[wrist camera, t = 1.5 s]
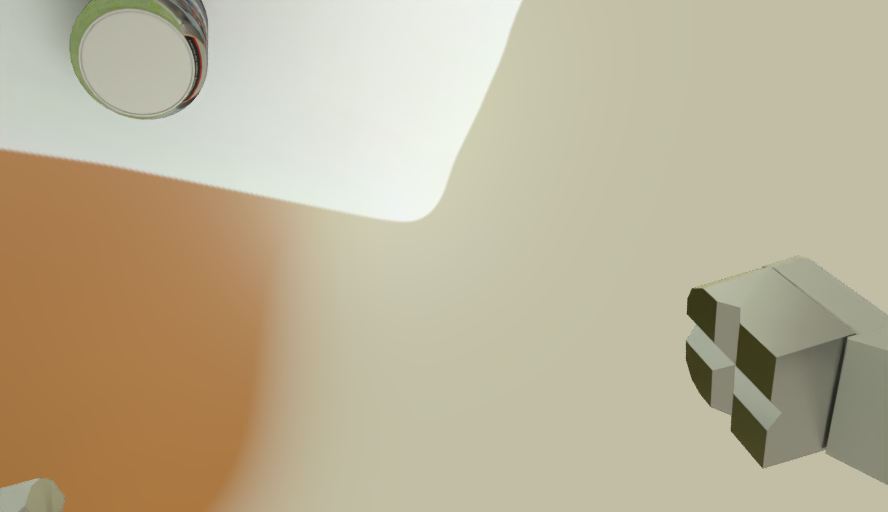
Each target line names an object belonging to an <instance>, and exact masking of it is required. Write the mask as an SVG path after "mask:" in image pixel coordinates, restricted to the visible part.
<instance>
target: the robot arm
mask: <svg viewBox="0 0 888 512" xmlns="http://www.w3.org/2000/svg"><path fill="white" fill-rule="evenodd" d="M687 315H688V316H689V317H690V318H691V319H692V320H693V321H694V322H695V323H696V326H695V327H694V329H693V330H692V332H691V334H690V335H689V336H688V338H687V340H686V361H687V365H688V368H689V372H690V375H691V378H692V381H693V382H694V384H695V386H696V388H697V389H698V391H699V393H700V394H701V396H702V397H703V398H704V399H705V400H706V402H707V403H708V404H709V405H710V407H712V408H715V409H717V410H720V411H722V412H724V413H727V414H729V415H731V432H732V433H733V434H734V435H735V436H736V438H737V439H738V440H739V441H740V442H741V444H742V445H743V446H744V447H745V448H746V449H747V451H748V452H749V453H750V454H751V455H752V457H753V458H754V459H755V460H756V461H757V462H758V464H759V465H760V466H761V467H762V468H766V467H769V466H773V465H777V464H780V463H783V462H786V461H790V460H793V459H797V458H800V457H803V456H807V455H810V454H813V453H817V452H820V451H823V450H826V454H828V455H830V456H832V457H833V458H835V459H837V460H840V461H841V462H844V463H845V464H847V465H849V466H851V467H853V468H855V469H857V470H859V471H861V472H863V473H865V474H867V475H869V476H871V477H873V478H875V479H877V480H879V481H881V482H883V483H885V484H887V485H888V315H887V314H886V313H884V312H883V311H881V310H880V309H879V308H877V307H876V306H875V305H873V304H872V303H870V302H869V301H868V300H866V299H865V298H863V297H862V296H861V295H859V294H858V293H856V292H855V291H854V290H852V289H851V288H849V287H848V286H847V285H845V284H844V283H842V282H841V281H840V280H838V279H837V278H835V277H834V276H833V275H831V274H830V273H828V272H827V271H826V270H824V269H823V268H822V267H820V266H819V265H817V264H816V263H815V262H813V261H812V260H810V259H808V258H805V257H801V256H794V257H791V258H788V259H785V260H782V261H778V262H775V263H772V264H769V265H766V266H763V267H762V268H760V269H755V270H752V271H748V272H745V273H742V274H738V275H735V276H732V277H728V278H725V279H722V280H718V281H715V282H712V283H708V284H705V285H701V286H698V287H695V288H692V289H691V292H690V294H689V296H688V298H687ZM64 501H65V496H64V495H63V494H62V492H61V491H60V490H59V488H58V487H57V486H56V484H55V483H54V482H53V481H52V480H51V479H44V478H38V479H35V480H31V481H27V482H24V483H20V484H16V485H12V486H8V487H4V488H1V489H0V512H62V509H63V505H64Z"/></svg>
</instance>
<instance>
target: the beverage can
mask: <svg viewBox="0 0 888 512" xmlns="http://www.w3.org/2000/svg"><path fill="white" fill-rule="evenodd" d="M70 57H71V62H72V65H73V68H74V71H75V74H76V75H77V77H78V79H79V81H80V83H81V84H82V86H83V87H84V88H85V89H86V91H87V92H88V93H89V94H90V95H91V96H92V97H93V98H94V99H95V100H96V101H97V102H99V103H100V104H102V105H103V106H105V107H106V108H107V109H109V110H111V111H114V112H116V113H118V114H120V115H123V116H127V117H130V118H136V119H158V118H164V117H167V116H170V115H173V114H175V113H177V112H179V111H181V110H182V109H184V108H185V107H186V106H188V105H189V104H190V103H191V102H192V101H193V100H194V99H195V98H196V96H197V95H198V94H199V92H200V90H201V88H202V86H203V84H204V81H205V78H206V75H207V66H208V20H207V15H206V11H205V8H204V6H203V3H202V1H201V0H91V1H90V2H89V4H88V5H87V6H86V7H85V8H84V9H83V11H82V12H81V13H80V15H79V16H78V17H77V19H76V21H75V24H74V26H73V28H72V32H71V36H70Z"/></svg>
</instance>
